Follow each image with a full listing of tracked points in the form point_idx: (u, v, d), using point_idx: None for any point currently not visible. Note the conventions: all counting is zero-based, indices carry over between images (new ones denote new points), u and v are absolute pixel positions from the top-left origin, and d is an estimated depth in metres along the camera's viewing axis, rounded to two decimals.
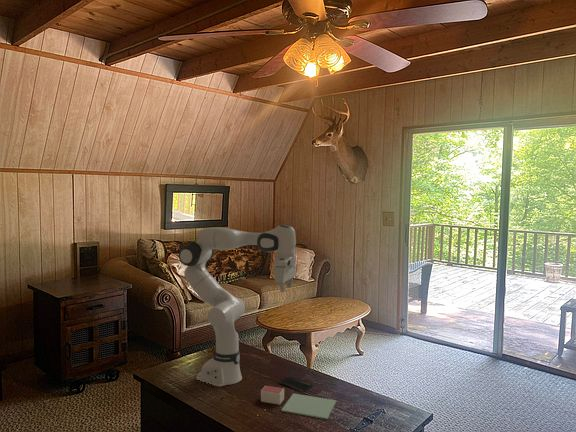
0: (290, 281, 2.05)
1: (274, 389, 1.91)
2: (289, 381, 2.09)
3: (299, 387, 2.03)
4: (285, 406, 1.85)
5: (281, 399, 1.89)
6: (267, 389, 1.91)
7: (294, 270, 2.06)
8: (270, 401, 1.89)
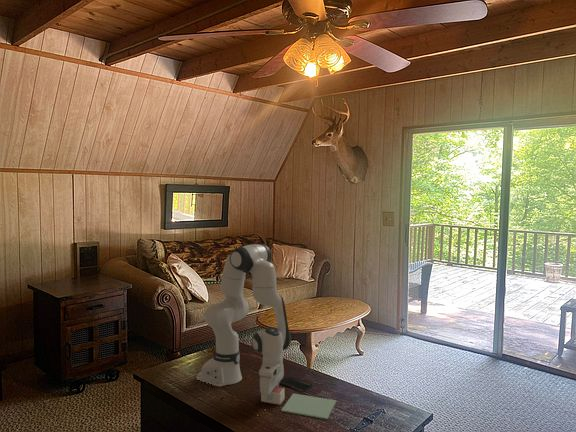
0: (276, 386, 1.95)
1: (275, 389, 1.91)
2: (289, 381, 2.09)
3: (299, 387, 2.03)
4: (285, 406, 1.85)
5: (281, 399, 1.89)
6: None
7: (281, 373, 1.97)
8: (270, 401, 1.89)
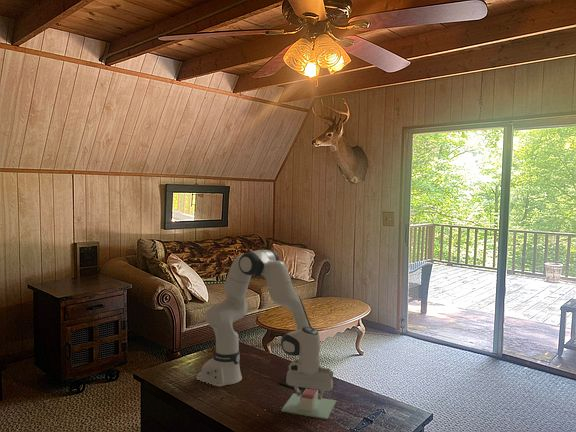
0: (321, 393, 1.84)
1: (308, 394, 1.85)
2: None
3: (299, 387, 2.03)
4: (285, 406, 1.85)
5: (304, 406, 1.82)
6: (308, 391, 1.88)
7: (324, 383, 1.81)
8: None
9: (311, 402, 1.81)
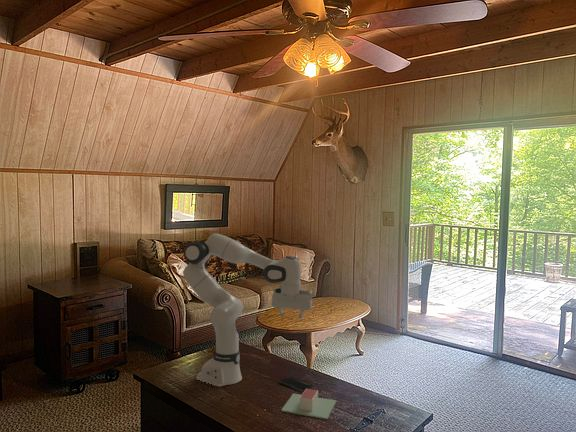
0: (301, 313, 2.09)
1: (308, 394, 1.85)
2: (290, 381, 2.09)
3: (299, 387, 2.03)
4: (285, 406, 1.85)
5: (304, 406, 1.82)
6: (308, 391, 1.88)
7: (304, 303, 2.07)
8: None
9: (311, 402, 1.81)
